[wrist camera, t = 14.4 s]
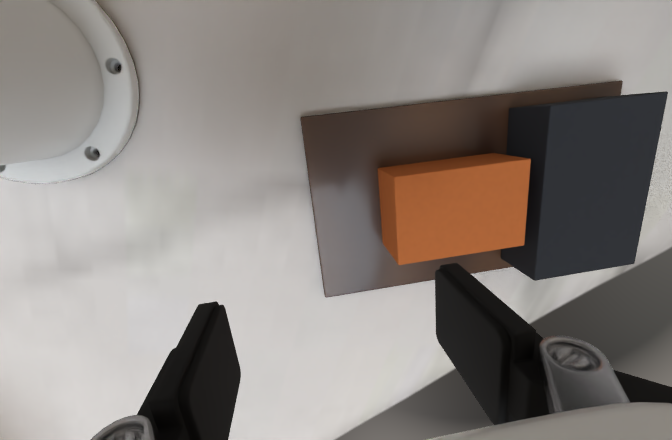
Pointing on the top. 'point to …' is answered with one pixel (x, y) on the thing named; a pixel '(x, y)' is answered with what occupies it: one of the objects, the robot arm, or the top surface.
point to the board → (391, 150)
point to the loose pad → (453, 206)
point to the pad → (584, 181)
